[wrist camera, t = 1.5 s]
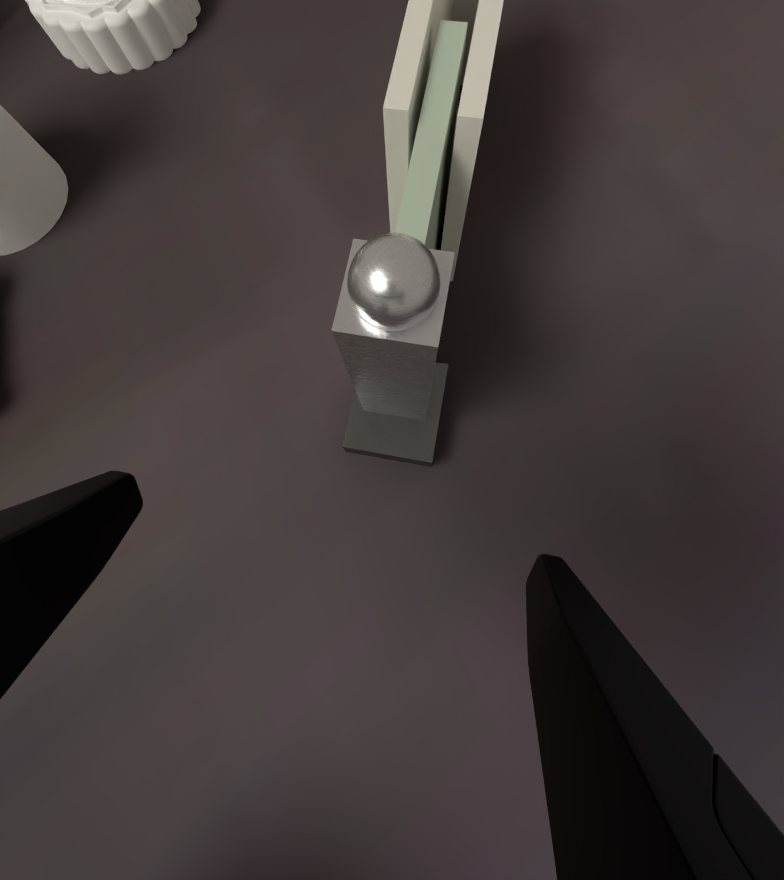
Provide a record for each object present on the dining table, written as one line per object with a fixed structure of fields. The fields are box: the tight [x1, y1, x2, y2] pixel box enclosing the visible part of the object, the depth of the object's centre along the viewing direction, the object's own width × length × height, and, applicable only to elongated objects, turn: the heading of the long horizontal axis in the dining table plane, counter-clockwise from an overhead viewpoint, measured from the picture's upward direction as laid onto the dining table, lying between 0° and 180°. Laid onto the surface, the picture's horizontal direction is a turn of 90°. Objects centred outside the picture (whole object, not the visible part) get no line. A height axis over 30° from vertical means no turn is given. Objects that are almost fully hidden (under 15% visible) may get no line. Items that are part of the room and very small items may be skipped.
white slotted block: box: [383, 0, 504, 281], centre depth 21 cm, size 17×4×10 cm, turn 170°
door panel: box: [395, 20, 468, 250], centre depth 20 cm, size 12×1×9 cm, turn 170°
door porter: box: [332, 232, 455, 467], centre depth 16 cm, size 6×5×12 cm
